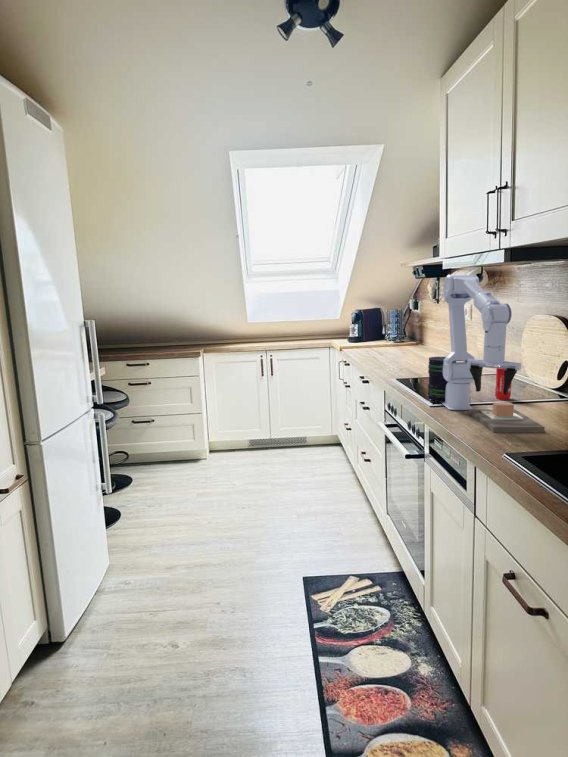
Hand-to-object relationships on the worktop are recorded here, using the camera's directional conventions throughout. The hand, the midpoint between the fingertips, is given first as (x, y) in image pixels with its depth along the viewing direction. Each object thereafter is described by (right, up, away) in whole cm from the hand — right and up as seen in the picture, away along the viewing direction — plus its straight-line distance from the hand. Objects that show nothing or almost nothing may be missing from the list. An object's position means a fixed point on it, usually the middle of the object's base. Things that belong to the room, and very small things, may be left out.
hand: (491, 392), depth 151 cm
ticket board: (+5, -9, +4) cm, 11 cm away
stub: (+5, -8, +4) cm, 10 cm away
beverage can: (+18, -3, +36) cm, 41 cm away
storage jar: (-3, -4, +37) cm, 37 cm away
